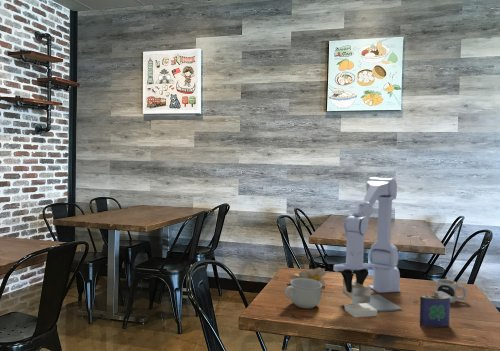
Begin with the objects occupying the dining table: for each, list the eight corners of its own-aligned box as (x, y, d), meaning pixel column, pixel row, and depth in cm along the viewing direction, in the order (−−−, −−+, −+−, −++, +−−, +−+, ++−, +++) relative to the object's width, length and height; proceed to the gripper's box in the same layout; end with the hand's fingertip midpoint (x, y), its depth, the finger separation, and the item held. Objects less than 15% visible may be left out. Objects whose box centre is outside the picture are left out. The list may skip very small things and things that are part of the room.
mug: (435, 300, 153) (436, 282, 153) (435, 295, 159) (436, 278, 159) (466, 305, 149) (467, 286, 149) (465, 300, 155) (466, 282, 155)
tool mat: (378, 296, 157) (378, 294, 157) (401, 310, 142) (402, 308, 142) (353, 297, 155) (353, 295, 155) (375, 312, 140) (375, 310, 140)
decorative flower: (318, 274, 178) (320, 252, 176) (332, 288, 168) (334, 265, 165) (286, 279, 173) (287, 257, 171) (298, 294, 163) (300, 271, 160)
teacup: (311, 299, 152) (312, 276, 152) (327, 309, 142) (328, 285, 142) (276, 302, 147) (276, 280, 147) (290, 313, 137) (290, 289, 137)
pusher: (354, 292, 150) (354, 278, 150) (370, 302, 139) (370, 287, 139) (338, 293, 149) (339, 278, 148) (353, 303, 138) (354, 288, 138)
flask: (446, 323, 131) (447, 289, 131) (451, 327, 128) (453, 292, 128) (417, 324, 130) (419, 289, 130) (422, 328, 127) (423, 292, 127)
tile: (366, 303, 144) (377, 310, 137) (366, 309, 144) (377, 316, 137) (344, 304, 142) (354, 311, 135) (344, 310, 142) (354, 318, 135)
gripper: (340, 255, 138) (339, 296, 139) (380, 253, 141) (379, 293, 142) (331, 250, 145) (330, 289, 145) (369, 249, 148) (368, 287, 149)
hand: (353, 291), depth 144 cm, fingers closed on pusher, 3 cm apart
